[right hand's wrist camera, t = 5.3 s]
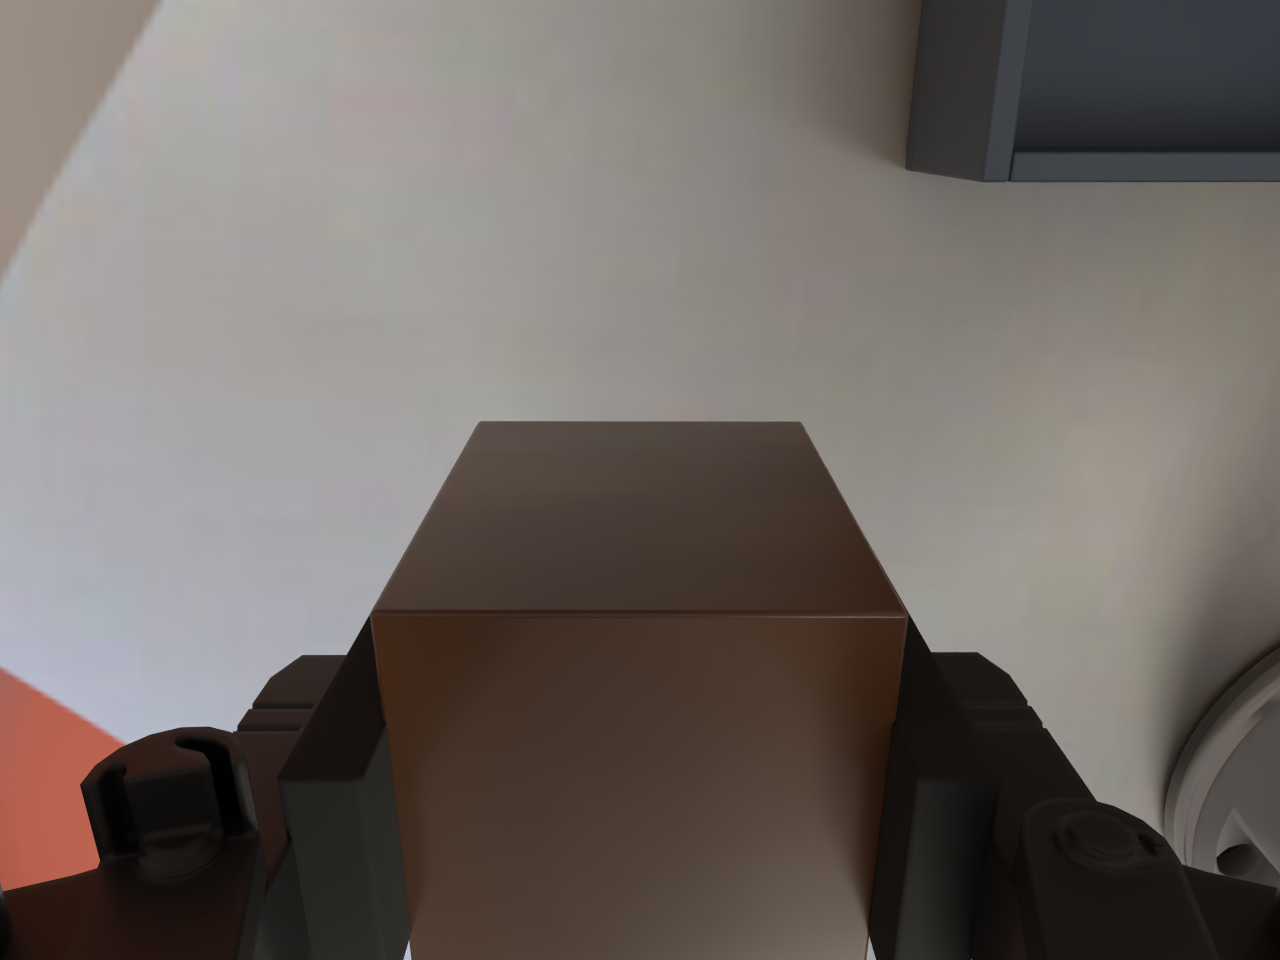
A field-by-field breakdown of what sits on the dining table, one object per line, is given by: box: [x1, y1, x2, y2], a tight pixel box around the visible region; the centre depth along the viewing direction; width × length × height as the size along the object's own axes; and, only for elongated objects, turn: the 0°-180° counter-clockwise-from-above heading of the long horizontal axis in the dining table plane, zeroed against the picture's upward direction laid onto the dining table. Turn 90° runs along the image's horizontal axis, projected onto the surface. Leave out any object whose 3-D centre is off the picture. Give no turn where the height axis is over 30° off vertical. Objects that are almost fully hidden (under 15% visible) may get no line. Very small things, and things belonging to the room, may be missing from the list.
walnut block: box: [370, 421, 908, 960], centre depth 12 cm, size 5×5×6 cm
